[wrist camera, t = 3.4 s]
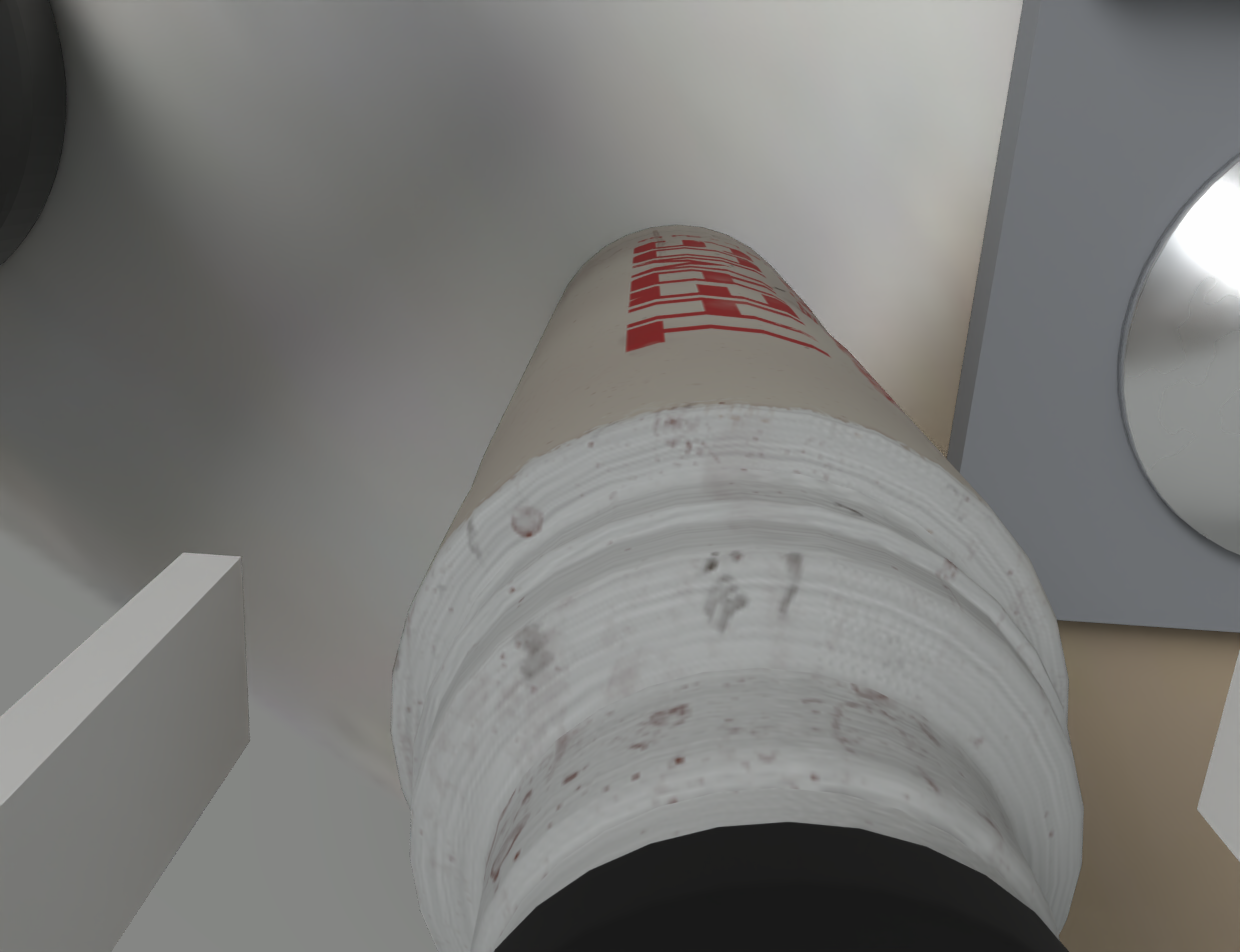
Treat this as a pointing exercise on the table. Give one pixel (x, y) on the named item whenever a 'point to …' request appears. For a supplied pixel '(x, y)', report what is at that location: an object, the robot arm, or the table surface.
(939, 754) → the thermos bottle
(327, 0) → the table surface
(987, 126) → the table surface
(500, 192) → the table surface
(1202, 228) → the rosette base
